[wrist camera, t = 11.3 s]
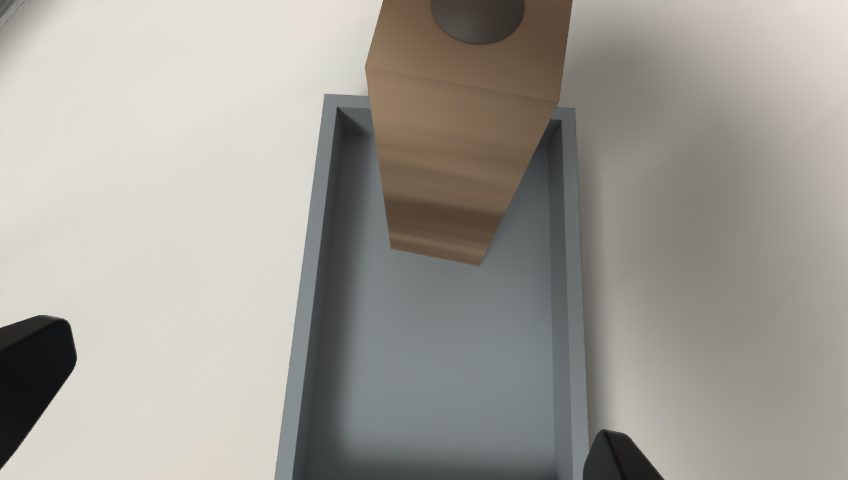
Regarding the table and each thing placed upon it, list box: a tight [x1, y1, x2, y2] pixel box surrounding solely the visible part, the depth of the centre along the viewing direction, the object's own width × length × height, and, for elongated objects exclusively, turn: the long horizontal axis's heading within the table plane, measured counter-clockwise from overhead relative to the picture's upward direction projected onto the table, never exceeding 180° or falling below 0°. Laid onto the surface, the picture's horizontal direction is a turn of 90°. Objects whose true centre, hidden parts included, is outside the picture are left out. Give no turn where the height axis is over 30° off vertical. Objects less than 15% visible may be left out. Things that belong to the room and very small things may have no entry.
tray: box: [274, 94, 589, 480], centre depth 21 cm, size 17×11×3 cm, turn 177°
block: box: [365, 0, 572, 266], centre depth 17 cm, size 4×4×13 cm
